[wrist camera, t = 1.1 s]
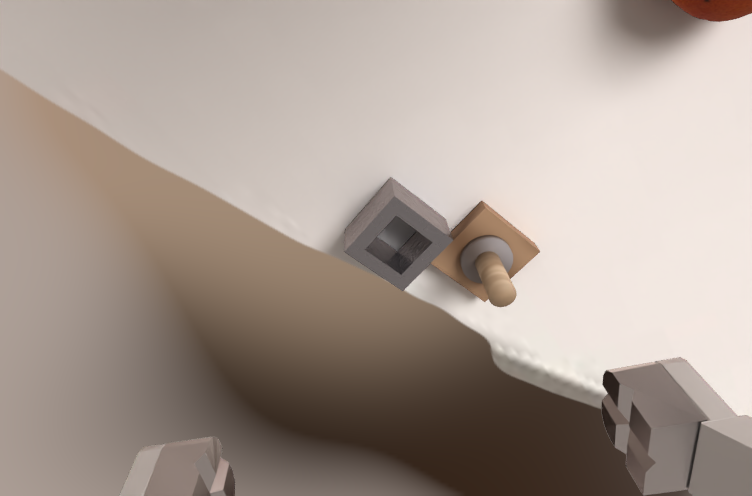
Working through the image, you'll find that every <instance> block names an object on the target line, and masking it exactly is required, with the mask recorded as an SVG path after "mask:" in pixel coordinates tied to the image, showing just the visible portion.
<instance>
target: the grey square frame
mask: <svg viewBox="0 0 752 496" xmlns="http://www.w3.org/2000/svg"><path fill="white" fill-rule="evenodd" d="M395 216H398V217H399V218H400V219H402V220H403V221H404V222H406V223H407V224H408V225H410V226H411V227H412V228H414V229H415V230H417V232H416V233H415V234H414V235H413V236H412V237H411V238H410V239H409V240H408V241H407V242H406V243H405V244H404V245H403V246H402V247H401V248H400V249H399V250H398V251H396V250H395V249H393V248H392V247H390V246H389V245H388V244H386V243H385V242H383V241H382V240H381V239H379V238H378V237H377V236H378V235H379V234H380V233H381V231H382V230H383V229H384V228H385V227H386V226H387V225H388V224H389V223H390V222H391V221H392V219H393V218H394V217H395ZM452 241H453V238H452V235H451V232H450V230H449V227H448V224H447V222H446V219H445V218H444V217H442V216H441V215H440V214H438V213H437V212H436V211H435V210H433V209H432V208H431V207H429V206H428V205H427V204H425V203H424V202H423V201H422V200H420V199H419V198H418V197H416V196H415V195H414V194H412V193H411V192H410V191H409V190H407V189H406V188H405V187H403V186H402V185H401V184H399V183H398V182H397V181H395V180H394V179H393V178H392V177H391V178H390V179H389V180H388V181H387V182H386V183H385V184H384V186H383V187H382V188H381V189H380V190H379V191H378V192H377V194H376V195H375V196H374V197H373V198H372V199H371V200H370V202H369V203H368V204H367V205H366V206H365V207H364V208H363V210H362V211H361V212H360V213H359V214H358V215H357V216H356V218H355V219H354V220H353V221H352V222H351V223H350V224H349V225H348V227H347V228H346V229H345V245H344V252H345V253H347V254H348V255H350V256H351V257H353V258H354V259H356V260H357V261H359V262H360V263H362V264H363V265H365V266H366V267H367V268H369V269H370V270H372V271H373V272H375V273H376V274H378V275H379V276H381V277H382V278H384V279H385V280H387V281H388V282H390V283H391V284H393V285H394V286H396V287H397V288H399V289H400V290H402V291H403V290H404V289H405V288H406V287H407V286H408V285H409V284H410V283H411V282H412V281H413V280H414V279H415V278H416V277H417V276H418V275H419V274H420V273H421V272H422V271H423V270H424V269H425V268H426V267H427V266H428V265H429V264H430V263H431V262H432V261H433V260H434V259H435V258H436V257H437V256H438V255H439V254H440V253H441V252H442V251H443V250H444V249H445V248H446V247H447V246H448V245H449V244H450V243H451V242H452Z"/></svg>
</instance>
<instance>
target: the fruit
mask: <svg viewBox="0 0 752 496" xmlns="http://www.w3.org/2000/svg"><path fill="white" fill-rule="evenodd" d="M672 1H673V2H674V3H675V4H676V5H677V6H679V7H680V8H681V9H683V10H684V11H685V12H687V13H688V14H690V15H692V16H694V17H696V18H699V19H705V20H708V21H718V22H720V21H728V20H733V19H737V18H740V17H743V16H745V15H748V14H751V13H752V0H672Z"/></svg>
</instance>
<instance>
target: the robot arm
mask: <svg viewBox="0 0 752 496" xmlns="http://www.w3.org/2000/svg"><path fill="white" fill-rule="evenodd" d="M603 386H604V388H605V389H606V391H607V393H608V394H607V395H606V396H605V398H604V399H603V400H602V417H603V422H604V426H605V429H606V431H607V433H608V436H609V438H610V440H611V441H612V443H613V445H614V447H615V448H617V449H619V450H620V451H622V452H624V453H625V454H627V456H626V467H627V469H628V471H629V472H630V474H631V476H632V477H633V479H634V481H635V482H636V484H637V486H638V487H639V489H640V491H641V493H642V494H643V495H650V494H657V493H665V492H672V491H680V490H688V489H689V490H688V492H689V493H690V494H692V495H693V496H752V418H751V417H749V416H747V415H742V416H738V415H737V414H736V413H735V412H734V411H733V410H732V409H731V408H730V407H729V406H728V405H727V404H726V402H725V401H724V400H723V399H722V398H721V397H720V396H719V395H718V394H717V393H716V392H715V391H714V390H713V388H712V387H711V386H710V385H709V384H708V383H707V382H706V381H705V380H704V379H703V378H702V377H701V375H700V374H699V373H698V372H697V371H696V370H695V369H694V368H693V367H692V366H691V365H690V364H689V363H688V361H687V360H685V359H683V358H681V357H678V358H672V359H666V360H661V361H655V362H649V363H644V364H638V365H633V366H627V367H621V368H616V369H610V370H606V371H605V373H604V375H603ZM222 449H223V448H222V446H221V444H220V442H219V440H218V438H217V437H207V438H200V439H193V440H186V441H179V442H172V443H167V444H161V445H154V446H147V447H143V448H142V450H140V451H139V453H138V454H137V456H136V458H135V461H134V463H133V465H132V467H131V470H130V472H129V474H128V476H127V479H126V481H125V483H124V486H123V488H122V490H121V492H120V494H119V496H235V479H234V474H233V470H232V468H231V466H230V463H229V462H227V461H225V460H224V459H222V458H220V457H221V453H222Z"/></svg>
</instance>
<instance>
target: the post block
mask: <svg viewBox="0 0 752 496" xmlns="http://www.w3.org/2000/svg"><path fill="white" fill-rule="evenodd" d="M451 235H452V238H453V241H452V242H451V243H450V244H449V245H448V246H447V247H446V248H445V249H444V250H443V251H442V252H441V253H440V254H439V255H438V256H437V257H436V258H435V259H434V260H433V261H432V262H431V264H432V265H434V266H435V267H437V268H438V269H439V270H441V271H442V272H444V273H445V274H446V275H448V276H449V277H451V278H452V279H453V280H455V281H456V282H458V283H459V284H460V285H462V286H463V287H465V288H466V289H467V290H469V291H470V292H472V293H473V294H474V295H476V296H477V297H479V298H480V299H481V300H483V301H484V302H485V301H487V300H488V299H489V300H490V302H491V304H493V305H494V306H497V307H504V306H507V305H509V304H511V303H512V302H513V301H514V300H515V298H516V290H515V288H514V286H513V284H512V282H511V280H510V279H511V278H512V277H513V276H514V275H515V274H516V273H517V272H518V271H519V270H521V269H522V268H523V267H524V266H525V265H526V264H527V263H528V262H529V261H530V260H532V259H533V258H534V257H535V256H536V255H537V254H538V253H539V252H540V251H539V249H538V248H537V246H536V245H535V243H534V242H532V241H531V240H530V239H529V238H527V237H526V236H525V235H524V234H522V233H521V232H520V231H519V230H517V229H516V228H515V227H514V226H513V225H511V224H510V223H509V222H508V221H506V220H505V219H504V218H503V217H501V216H500V215H499V214H498V213H497V212H495V211H494V210H493V209H492V208H490V207H489V206H488V205H487V204H485V203H484V202H483V201H481V202H480V203H479V204H478V205H477V206H476V207H475V208H474V209H473V210H472V211H471V212H470V213H469V214H468V215H467V216H466V217H465V218H464V219H463V220H462V221H461V222H460V223H459V224H458V225H457V226H456V227H455V228H454V229H453V231H452V232H451Z"/></svg>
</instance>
